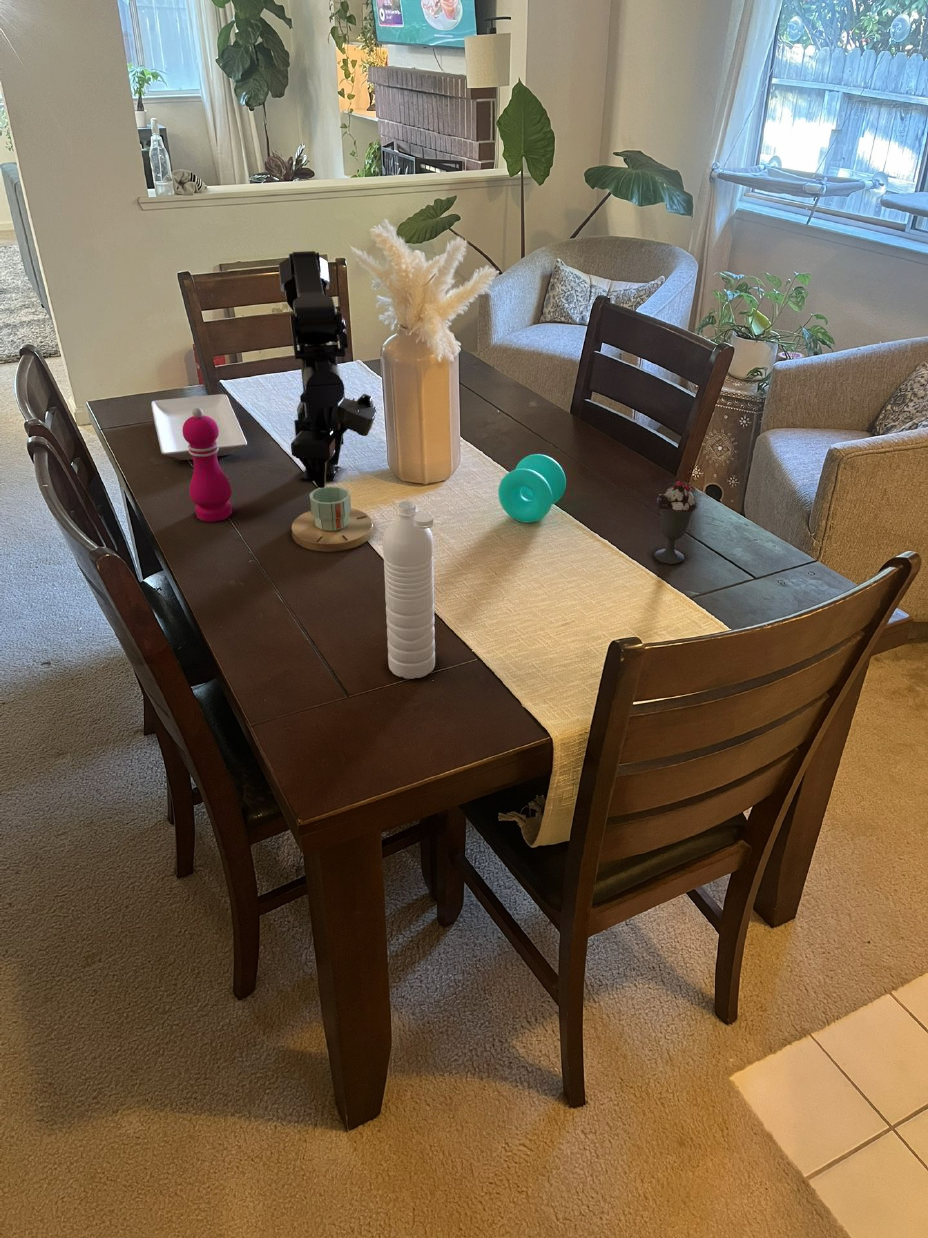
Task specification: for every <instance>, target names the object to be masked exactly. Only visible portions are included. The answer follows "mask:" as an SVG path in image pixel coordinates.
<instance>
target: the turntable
mask: <svg viewBox="0 0 928 1238" xmlns="http://www.w3.org/2000/svg"><path fill="white" fill-rule="evenodd" d="M373 533H374V525H373V520H372V517H371V516H369V515H368V514H367V513H366V512H363V511H361V510H359V509H356V508H353V507H351V512H350V513H349V524H348V525H347V526H346V527H344V528H343V529H340V530H335V531H326V530H322V529H319V528H318V527H317V526H316V525H315V520H314V516H313V515H312V514H311V510H309V511H306V512H304V513H302V514H299V516H297V517H296V518H295V519H294V521H293V522H292V523H291V535H292V539H293V540H294V542H295V543H296V544H297V545H298V546H300V547H302V548H304V549H308V550H311V551H317V552H325V553H326V552H327V553H329V552H331V553H332V552H341V551H348V550H350V549H351V550H352V549H354V548H356V547H359V546H362V545H364V544H365V543H366V542H368V541H369V540H370V538H371V537H372V535H373Z"/></svg>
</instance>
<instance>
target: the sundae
mask: <svg viewBox="0 0 928 1238" xmlns="http://www.w3.org/2000/svg"><path fill="white" fill-rule="evenodd" d="M691 474H693V472H692V471H687V474H686V476H685V478H683V479H682V480H681V481H676V482H675V484H674V485H672V486H670V487H669V488H668V489H667V490H666V492H665V493H659V494H658V497H657V498H656V504H657V507H658V508H659V511H660V513H659V514H660V518H659V519H660V524H659V525H660V531H661V532H660V533H662V535H663V537H665V538H666V539H667V545H666V548H661V549H658V550H657V551H655V553H654V554H653V556H654V558H655V559H656V560H657V561H658V562H660V563H663V564H667V565H676V564H680V563H682V562H684V560H685V556H684V554H683V553H682V552H680V551H679V550H677V549H675V543H676V541H677V540H678V539H681V538H682V537H683V536H685V534H686V532H687V529H688V527H689V523H690V520H691V518H692V515H693V513H694V512H695V510H697V508H698V506H699V503H698V501H696V500H695V497H694V495H693V493H692V492H691V489H692V487H691V485H689V481H690V480H689V479H690V475H691ZM686 479H687V482H686V483H687V484H684V483H683V482H684V481H685V480H686Z"/></svg>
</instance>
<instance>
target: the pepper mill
mask: <svg viewBox="0 0 928 1238" xmlns="http://www.w3.org/2000/svg"><path fill="white" fill-rule="evenodd" d="M192 414H193V416H192V417H190V418H189V419H187V420H186V421H185V423H184V425H183V430H182V431H183V437H184V439H185V440H186V441H187V442H188V443H189V445H188V448H189V453H190V454H191V455H192V457H193V459H192V460H193V472H192V477H191V481H190V483H189V498H190V499H191V501H192V502H193V503H194V504H196V505H195V506H194V509H195V510H194V511H195V515H196V518H197V519H198V520H200V521H202V522H206V523H207V522H209V523H210V522H211V523H215V522H220V521H223V520H226V519H228V518H229V517H230V516H231V515H232V513H233V510H232V503H231V501H230V498H231V497H232V494H233V492H232V486H231V483H230V481H229V479H228V478H227V476H226V474H225V473H224V471H223V470H222V468H221V466H220V464H219V460H218V456H217V452H218V450H219V448H218V443H217V442H216V439H217V438H218V435H219V429H218V426H217V424H216V422H215V421H214V420H213V419H212V418H210V417H208V416H205V415H203V411H202V409H200V408H195V409H193V411H192Z"/></svg>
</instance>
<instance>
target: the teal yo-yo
mask: <svg viewBox="0 0 928 1238" xmlns="http://www.w3.org/2000/svg"><path fill="white" fill-rule="evenodd" d="M566 488H567V478H566V475H565V472H564V469H563V467H562V466H561V465H560V464H559V463H558V462H557V461H556V460H555V459H553V457H550V456H548V455H546V454H541V453H535V454H534V453H533V454H530V455H527V456H525V457H524V458H522V459H521V460H519V462H518V463H517V465H516V466H515V469H513V470H511V471H509V472H507V473H506V474H505V475H504V476H503V477H502V479H501V481H500V483H499V485H498V493H497V494H498V500H499V503H500V505H501V507H502V509H503V510H504V512H505V513H506V514H507V515H508V516H509V517H511V518H512V519H513V520H516V521H517V522H521V523H526V524H527V523H535V522H538V521H540V520H542V519H543V518H544V517H545V516H546V515H547V514H548V513H549V511H550V510H551V508H552V505H555V504H556V503H558V502H559V501H560V500H561V498H563V496H564V494H565V491H566Z"/></svg>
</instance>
